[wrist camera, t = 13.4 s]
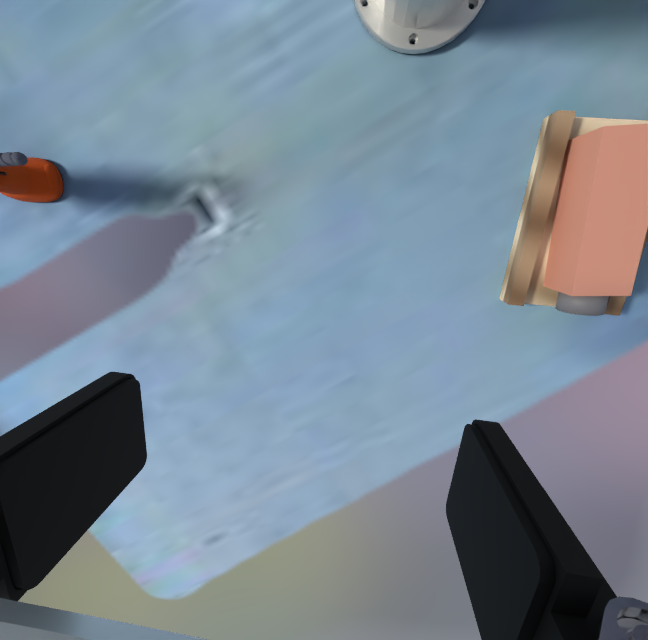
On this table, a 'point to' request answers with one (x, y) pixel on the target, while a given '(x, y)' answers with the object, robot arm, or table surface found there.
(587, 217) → the salmon rectangular block
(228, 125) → the table surface
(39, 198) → the toy drill
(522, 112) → the table surface
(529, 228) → the cradle
